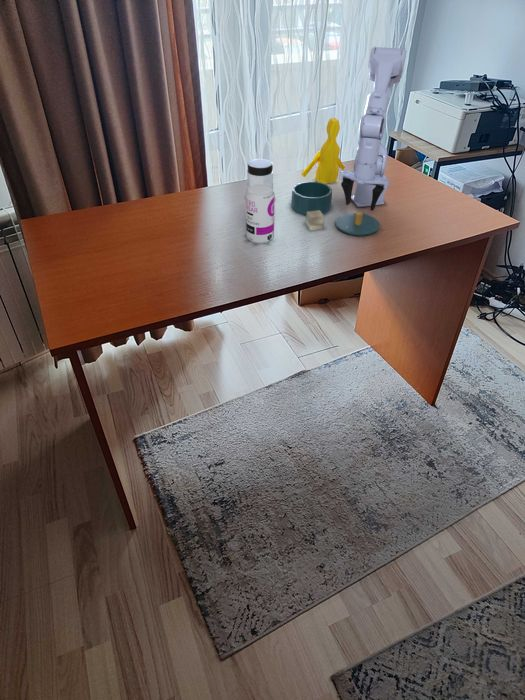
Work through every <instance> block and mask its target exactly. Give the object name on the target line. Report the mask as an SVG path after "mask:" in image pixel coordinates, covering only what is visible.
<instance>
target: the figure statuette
mask: <svg viewBox="0 0 525 700" xmlns="http://www.w3.org/2000/svg"><path fill="white" fill-rule="evenodd" d="M340 129H341V126H340V121H339V119H337V118H336V117H333V118H329V119H328V122H327V125H326V135H327V138H326V140H325V142H324V143H323V145H322V146H321V147H320V150H319V151H317V152H316V154H315V155H314V157H313V159H312V160H311V162H310V163H309V164H308V165H307V166H306V168H304V170H303V171H302V172H301V173H300V175H301V176H302V177H304V178H305V177H306V176H307V175H308V174H309V173H310V171H311V170H312V169H313V168H314V166H315V165H316V164H317V168H316V171H315V177H314V182H321V183H324V184H327V185H328V184H333V183H335V182H336V181H337V180H338V176H339V168H340V169H341V171H345V168H346V167H345V165H344V163H343V162H342V160H341V159H340V157H339V156H340V153H341V147H340V146H339V144H338V142H337V137H338V135H339V132H340Z"/></svg>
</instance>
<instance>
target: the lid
mask: <svg viewBox="0 0 525 700" xmlns="http://www.w3.org/2000/svg"><path fill="white" fill-rule="evenodd" d="M335 227H336V228H337V229H338V230H339V231H341V232H343V233H345V234H348V235H351V236H359V237H360V236H361V237H362V236H370V235H373V234H376V233H377V232H378V231H379V230H380V228H381V223H380V222H379V220H378V219H376V217H373V216H372V215H369V214H365V213H364V212H363V211H360V210H359V211H358V210H357V211H355V213H354V212H351V213H349V212H348V213H345V214H342V215H340V216H338V217H337V218H336V219H335Z"/></svg>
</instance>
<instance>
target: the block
mask: <svg viewBox="0 0 525 700" xmlns="http://www.w3.org/2000/svg"><path fill="white" fill-rule="evenodd" d="M305 219H306V220H305V225H306V227H307V228H308V230H309V231H317V230H323V229H324V222H325V221H324V220H325V215H324V214H322V213H321V211H320V210H317V211H308V212H307V216H306V218H305Z"/></svg>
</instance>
